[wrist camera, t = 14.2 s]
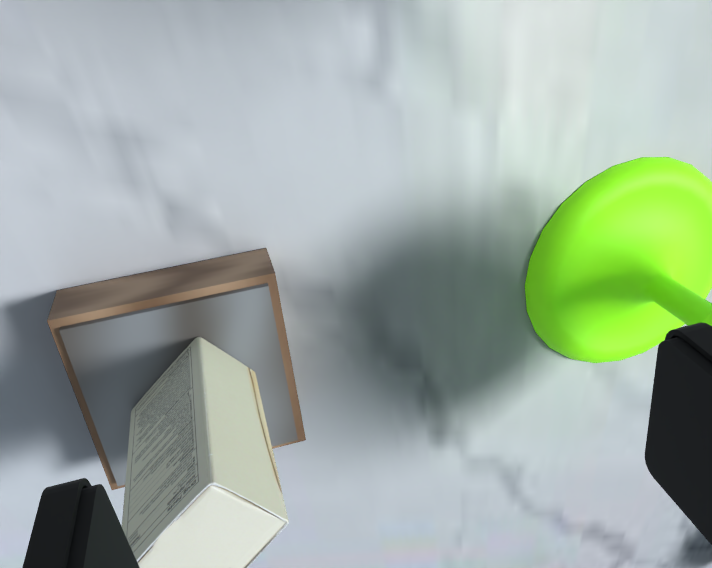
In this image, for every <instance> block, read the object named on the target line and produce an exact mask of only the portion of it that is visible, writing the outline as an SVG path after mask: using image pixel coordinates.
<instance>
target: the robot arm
mask: <svg viewBox="0 0 712 568" xmlns="http://www.w3.org/2000/svg"><path fill="white" fill-rule="evenodd" d="M645 461H646V465H647V467H648V470H649V472H650V473H651V475H652V476H653V478H654V479H655V480H656V481H657V482H658V483H659V484H660V486H661V487H662V488H663V489H664V490H665V491H666V493H667V494H668V495H669V496H670V497H671V498H672V500H673V501H674V502H675V503H676V504H677V505H678V506H679V508H680V509H681V510H682V511H683V512H684V513H685V515H686V516H687V517H688V518H689V519H690V520H691V521H692V523H693V524H694V525H695V526H696V527H697V528H698V530H699V531H700V532H701V533H702V534H703V535H704V537H705V538H706V539H707V540H708V541H709V542H710V543H711V545H712V326H711V325H709V324H707V323H702V322H701V323H697V324H693V325H689V326H685V327H681V328H677V329H673V330H670V331H669V332H668V333H667V334H666V337H665V340H664V341H662V342H661V343H660V344H659V347H658V353H657V361H656V369H655V377H654V385H653V393H652V401H651V409H650V417H649V425H648V433H647V441H646V449H645ZM23 568H140V567H139V565H138V563H137V560H136V558H135V556H134V554H133V551H132V549H131V547H130V545H129V542H128V540H127V538H126V536H125V533H124V531H123V529H122V527H121V525H120V522H119V520H118V518H117V516H116V513H115V511H114V509H113V507H112V504H111V502H110V500H109V498H108V495H107V493H106V491H105V489H104V487H103V486H102V485H101V484H98V485H94V486H91V484H90V483H89V481H88V480H87V479H86V478H83V479H79V480H75V481H71V482H67V483H63V484H59V485H55V486H51V487H47V488H46V489H45V490H44V491H43V493H42V496H41V499H40V503H39V507H38V511H37V514H36V518H35V522H34V526H33V530H32V534H31V537H30V541H29V545H28V549H27V553H26V557H25V561H24V564H23Z"/></svg>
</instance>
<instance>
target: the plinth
mask: <svg viewBox="0 0 712 568" xmlns="http://www.w3.org/2000/svg"><path fill="white" fill-rule="evenodd" d="M47 322H48V325H49V327H50V330H51V332H52V335H53V338H54V340H55V343H56V346H57V348H58V351H59V353H60V356H61V359H62V361H63V364H64V366H65V369H66V372H67V374H68V377H69V379H70V382H71V385H72V387H73V390H74V392H75V395H76V398H77V400H78V403H79V405H80V408H81V411H82V413H83V416H84V419H85V421H86V424H87V426H88V429H89V432H90V434H91V437H92V439H93V442H94V445H95V447H96V450H97V452H98V455H99V458H100V460H101V463H102V465H103V468H104V471H105V473H106V476H107V478H108V481H109V484H110V486H111V489H112V490H114V489H118V488H122V487H125V481H126V468H127V456H128V444H129V431H130V418H131V411H132V409H133V408H134V407H135V406H136V404H137V403H138V402H139V401H140V400H141V398H142V397H143V396H144V395H145V394H146V392H147V391H148V390H149V389H150V388H151V387H152V386H153V384H154V383H155V382H156V381H157V380H158V379H159V378H160V377H161V375H162V374H163V373H164V372H165V371H166V370H167V369H168V368H169V367H170V365H171V364H172V363H173V362H174V361H175V360H176V359H177V358H178V356H179V355H180V354H181V353H182V352H183V351H184V350H185V349H186V348H187V347H188V346H189V345H190V344H191V342H192V341H193V340H194V339H195V338H197V337H201V338H203V339H205V340H206V341H208V342H209V343H211V344H213V345H214V346H216V347H217V348H219V349H221V350H222V351H224V352H225V353H227V354H228V355H230V356H232V357H233V358H235V359H236V360H238V361H239V362H241V363H242V364H244V365H245V366H247V367H248V368H250V369H252V370H253V371H254V372H255V374H256V378H257V382H258V387H259V392H260V396H261V400H262V405H263V410H264V414H265V418H266V423H267V427H268V432H269V437H270V441H271V445H272V449H273V448H277V447H281V446H285V445H288V444H292V443H296V442H300V441H304V440H306V439H305V433H304V428H303V422H302V417H301V411H300V406H299V401H298V395H297V390H296V384H295V379H294V373H293V368H292V363H291V357H290V352H289V346H288V341H287V336H286V330H285V325H284V319H283V314H282V308H281V303H280V298H279V292H278V287H277V281H276V276H275V272H274V269H273V266H272V263H271V260H270V257H269V255H268V252H267V249H266V248H264V249H259V250H254V251H249V252H244V253H239V254H234V255H229V256H224V257H219V258H214V259H209V260H204V261H200V262H195V263H190V264H185V265H180V266H175V267H170V268H165V269H160V270H155V271H150V272H145V273H140V274H135V275H130V276H126V277H121V278H116V279H111V280H106V281H101V282H96V283H91V284H86V285H81V286H76V287H71V288H66V289H61V290H57V292H56V295H55V298H54V301H53V304H52V307H51V310H50V313H49V316H48V320H47Z"/></svg>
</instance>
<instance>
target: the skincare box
mask: <svg viewBox="0 0 712 568" xmlns="http://www.w3.org/2000/svg"><path fill="white" fill-rule="evenodd" d="M288 522H289V521H288V517H287V512H286V508H285V504H284V500H283V495H282V491H281V486H280V481H279V477H278V472H277V468H276V463H275V459H274V454H273V450H272V445H271V441H270V437H269V432H268V427H267V423H266V418H265V414H264V410H263V405H262V400H261V396H260V392H259V387H258V382H257V378H256V374H255V372H254V371H253V370H252V369H250V368H248V367H247V366H245V365H244V364H242V363H241V362H239V361H238V360H236V359H235V358H233V357H232V356H230V355H228V354H227V353H225V352H224V351H222V350H221V349H219V348H217V347H216V346H214V345H213V344H211V343H209V342H208V341H206V340H205V339H203V338H201V337H197V338H195V339H194V340H193V341H192V342H191V344H190V345H189V346H188V347H187V348H186V349H185V350H184V351H183V352H182V353H181V354H180V355H179V356H178V358H177V359H176V360H175V361H174V362H173V363H172V364H171V365H170V367H169V368H168V369H167V370H166V371H165V372H164V373H163V374H162V375H161V377H160V378H159V379H158V380H157V381H156V382H155V383H154V384H153V386H152V387H151V388H150V389H149V390H148V391H147V392H146V394H145V395H144V396H143V397H142V398H141V400H140V401H139V402H138V403H137V404H136V406H135V407H134V408H133V409H132V411H131V418H130V431H129V444H128V456H127V468H126V481H125V494H124V506H123V518H122V529H123V531H124V533H125V536H126V538H127V540H128V542H129V545H130V547H131V549H132V551H133V554H134V556H135V558H136V560H137V563H138V565H139V567H140V568H248V567H249V566H250V565H251V564H252V563H253V561H254V560H255V559H256V558H257V557H258V556H259V555H260V554H261V553H262V552H263V551H264V550H265V549H266V548H267V546H268V545H269V544H270V543H271V542H272V541H273V540H274V539H275V538H276V537H277V536H278V535H279V534H280V532H281V531H282V530H283V529H284V528H285V527H286V526H287V525H288Z"/></svg>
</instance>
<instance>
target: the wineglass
mask: <svg viewBox="0 0 712 568" xmlns="http://www.w3.org/2000/svg"><path fill="white" fill-rule="evenodd" d="M711 288H712V182H711V181H710V180H709V179H708V178H707V177H705V176H704V175H703V174H702V173H701V172H699V171H698V170H697V169H696V168H695V167H693V166H692V165H690V164H687V163H684V162H681V161H678V160H675V159H672V158H669V157H642V158H638V159H635V160H632V161H628V162H625V163H621V164H618V165H615V166H612V167H611V168H609V169H607V170H605V171H604V172H602V173H600V174H598V175H597V176H595V177H593V178H592V179H590V180H588V181H586V182H585V183H584V184H583V185H582V186H581V187H580V188H578V189H577V190H576V191H575V192H574V193H573V194H572V195H571V196H570V197H569V198H567V199H566V200H565V201H564V202H563V203H562V204H561V205H560V207H559V208H558V209H557V211H556V212H555V214H554V215H553V216H552V218H551V219H550V220H549V222H548V223H547V225H546V226H545V227H544V229H543V230H542V232H541V234H540V237H539V239H538V241H537V243H536V246H535V248H534V250H533V252H532V255H531V257H530V261H529V266H528V271H527V276H526V282H525V296H526V308H527V313H528V315H529V318H530V320H531V323H532V325H533V327H534V330H535V332H536V333H537V334H538V336H539V337H540V338H541V339H542V340H543V341H544V342H545V343H546V344H547V345H548V347H549V348H551V349H553V350H555V351H556V352H558V353H560V354H562V355H564V356H566V357H568V358H570V359H574V360H580V361H586V362H591V363H601V362H611V361H620V360H623V359H626V358H629V357H632V356H635V355H638V354H641V353H644V352H645V351H647V350H649V349H651V348H652V347H654V346H656V345H658V344H659V343H661V342H662V341H664V340H665V337H666V334H667V333H668V332H669V331H670V330H673V329H677V328H680V327H682V326H683V325H684V324H687V325H688V326H689V325H693V324H697V323H701V322H702V323H707V324H709V325H711V326H712V303H710V302H708V301H707V300H705V299H706V297H707V295H708V294H709V292H710V290H711Z"/></svg>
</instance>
